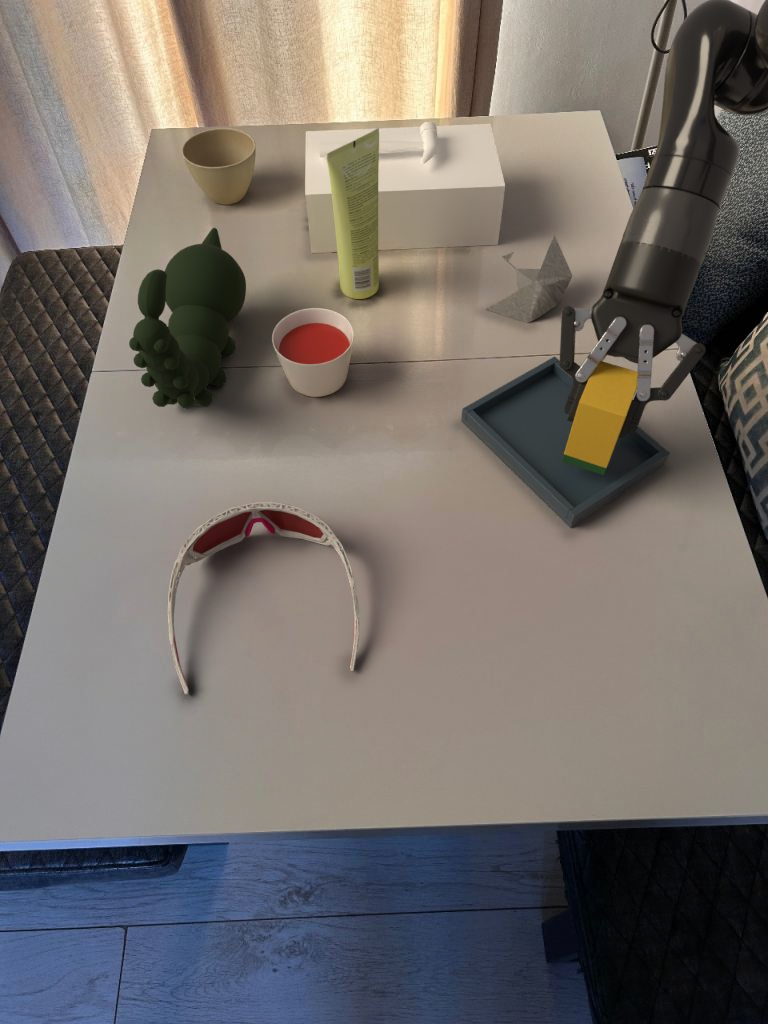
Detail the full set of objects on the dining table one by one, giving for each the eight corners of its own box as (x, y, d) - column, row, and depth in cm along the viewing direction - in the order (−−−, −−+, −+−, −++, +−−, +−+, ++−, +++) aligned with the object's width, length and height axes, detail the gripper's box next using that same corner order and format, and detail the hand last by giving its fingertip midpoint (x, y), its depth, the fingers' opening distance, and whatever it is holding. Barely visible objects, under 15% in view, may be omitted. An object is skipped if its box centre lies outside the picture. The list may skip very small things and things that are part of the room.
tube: (343, 271, 100) (333, 124, 84) (382, 273, 100) (379, 126, 83) (337, 300, 97) (326, 153, 81) (377, 302, 96) (374, 155, 80)
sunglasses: (345, 512, 78) (343, 491, 73) (367, 676, 71) (366, 664, 67) (174, 533, 77) (161, 513, 72) (180, 703, 70) (166, 692, 65)
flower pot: (258, 215, 107) (250, 167, 101) (187, 215, 107) (175, 167, 101) (266, 174, 112) (259, 126, 107) (199, 174, 113) (188, 126, 107)
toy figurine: (227, 443, 86) (264, 282, 98) (185, 326, 69) (236, 149, 81) (146, 438, 86) (193, 278, 99) (85, 320, 70) (150, 145, 82)
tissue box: (497, 244, 103) (507, 168, 93) (311, 253, 102) (303, 177, 93) (484, 182, 111) (492, 106, 102) (311, 189, 110) (304, 114, 101)
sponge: (619, 433, 80) (642, 372, 73) (603, 475, 77) (626, 416, 70) (578, 420, 81) (597, 359, 74) (561, 461, 78) (579, 402, 71)
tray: (664, 465, 81) (670, 453, 80) (570, 528, 77) (574, 516, 75) (551, 369, 89) (554, 356, 88) (460, 421, 85) (462, 408, 83)
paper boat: (519, 336, 91) (464, 285, 93) (522, 347, 97) (471, 299, 99) (592, 258, 89) (535, 208, 91) (591, 275, 95) (537, 228, 97)
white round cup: (316, 417, 86) (311, 377, 80) (263, 377, 89) (255, 336, 84) (372, 375, 89) (370, 334, 84) (319, 338, 93) (314, 296, 88)
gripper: (583, 223, 68) (520, 407, 72) (747, 264, 65) (672, 456, 69) (587, 239, 75) (530, 406, 79) (735, 277, 72) (668, 450, 76)
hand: (596, 428), depth 74 cm, fingers closed on sponge, 4 cm apart
